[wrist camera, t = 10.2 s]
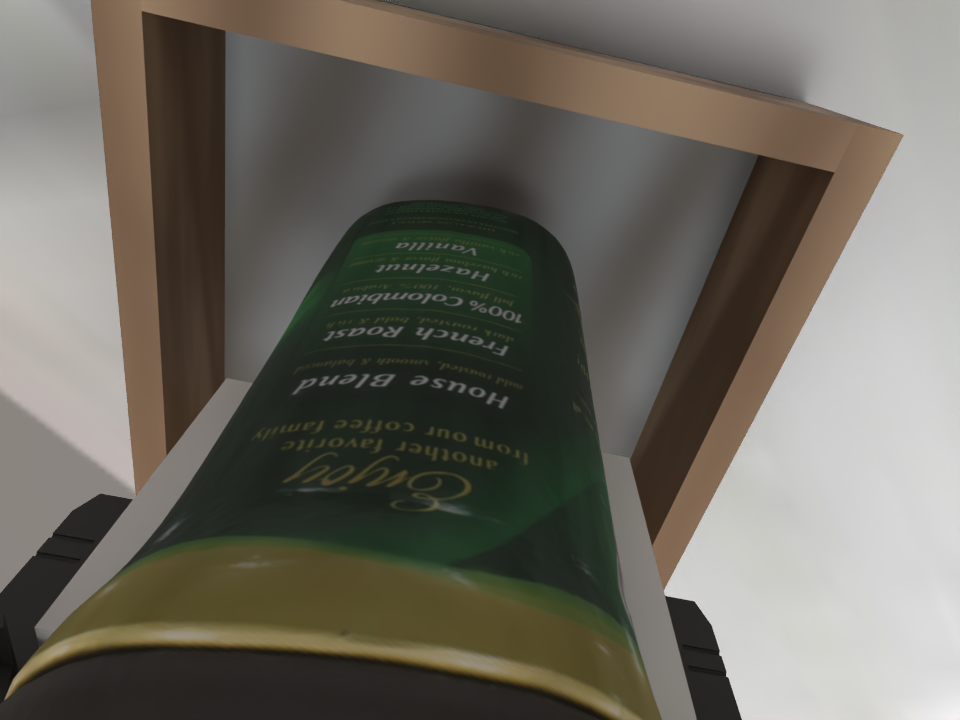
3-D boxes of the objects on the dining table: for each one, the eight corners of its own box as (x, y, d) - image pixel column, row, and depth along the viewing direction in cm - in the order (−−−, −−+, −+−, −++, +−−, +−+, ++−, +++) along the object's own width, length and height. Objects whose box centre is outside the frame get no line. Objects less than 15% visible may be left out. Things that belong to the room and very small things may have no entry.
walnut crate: (805, 102, 21) (903, 135, 15) (630, 500, 30) (654, 606, 24) (200, -43, 19) (84, -61, 14) (206, 418, 28) (137, 511, 23)
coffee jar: (327, 178, 18) (-971, 1376, 2) (592, 207, 19) (1143, 1559, 2) (332, 439, 23) (-76, 1426, 7) (543, 462, 23) (617, 1486, 7)
